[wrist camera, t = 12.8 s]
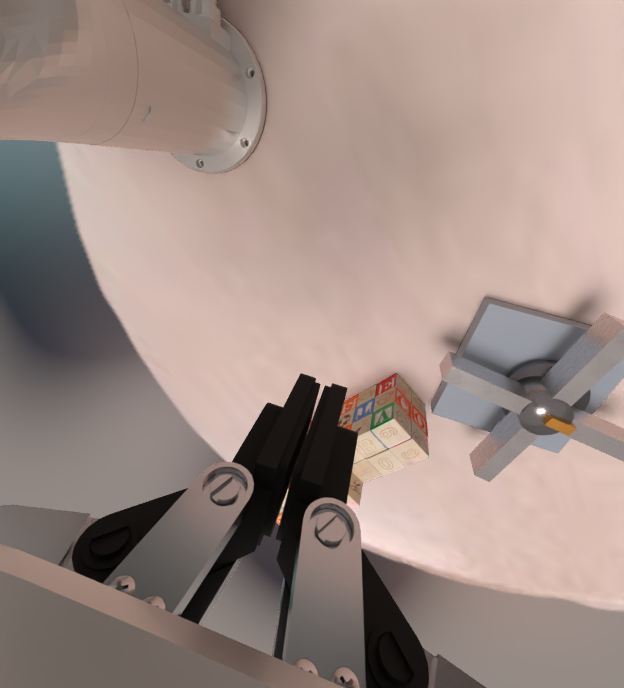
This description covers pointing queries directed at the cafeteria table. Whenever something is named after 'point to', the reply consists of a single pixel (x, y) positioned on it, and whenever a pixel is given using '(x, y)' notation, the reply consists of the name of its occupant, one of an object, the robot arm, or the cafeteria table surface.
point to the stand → (515, 362)
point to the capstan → (544, 397)
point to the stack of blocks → (383, 433)
